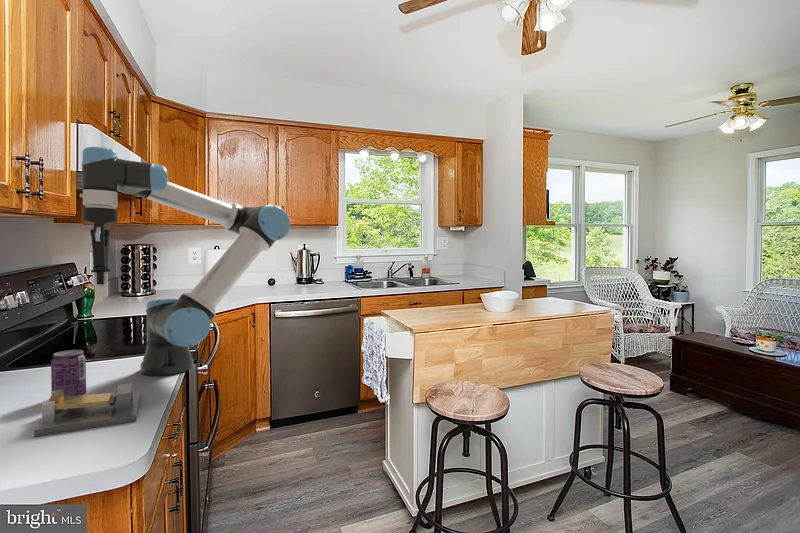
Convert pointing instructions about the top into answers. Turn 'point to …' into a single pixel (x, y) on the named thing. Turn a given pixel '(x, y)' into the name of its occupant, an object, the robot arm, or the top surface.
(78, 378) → the beverage can
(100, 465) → the top surface
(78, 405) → the tan flat panel
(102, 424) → the clamp base
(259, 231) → the robot arm
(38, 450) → the top surface
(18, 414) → the top surface
